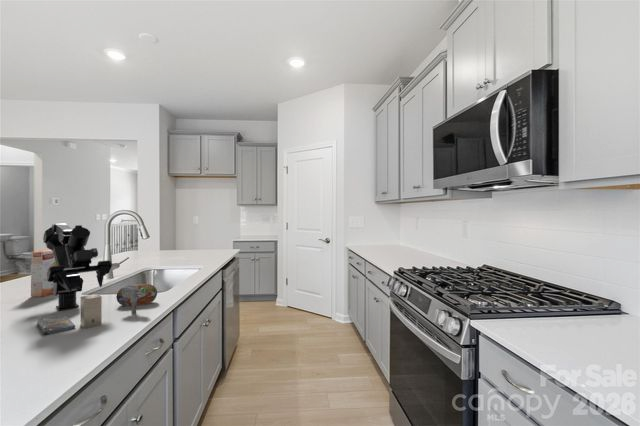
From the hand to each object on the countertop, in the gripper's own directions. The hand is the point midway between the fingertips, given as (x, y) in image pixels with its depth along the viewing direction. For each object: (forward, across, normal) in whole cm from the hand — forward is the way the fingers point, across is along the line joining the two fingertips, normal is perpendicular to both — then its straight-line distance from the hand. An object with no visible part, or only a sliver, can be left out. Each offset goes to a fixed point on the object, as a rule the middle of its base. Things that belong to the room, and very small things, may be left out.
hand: (86, 288), depth 112 cm
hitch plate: (+7, -8, +10) cm, 15 cm away
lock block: (+12, 0, +5) cm, 13 cm away
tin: (+3, +20, +14) cm, 25 cm away
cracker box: (-32, +1, +49) cm, 59 cm away
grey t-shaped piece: (+11, +15, +6) cm, 19 cm away
